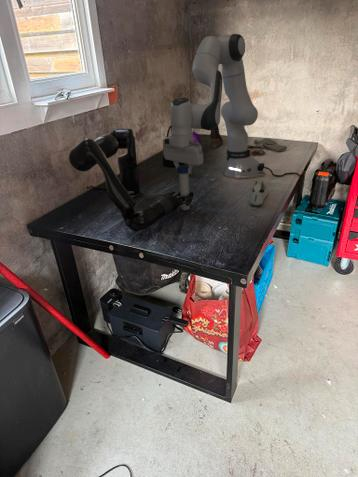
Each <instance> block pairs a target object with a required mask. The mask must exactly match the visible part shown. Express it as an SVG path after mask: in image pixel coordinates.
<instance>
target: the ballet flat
mask: <svg viewBox="0 0 358 477" xmlns="http://www.w3.org/2000/svg"><path fill="white" fill-rule="evenodd" d="M268 194H269V189H268V186H267V183H266V182H265V181H264V180H262V179H257V180H255V181H254V182H253V184H252V187H251V190H250V196H249V204H250V205H251V206H252V207H260V206H261V205H263V203H264V201H265V198H266V196H267V195H268Z"/></svg>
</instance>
